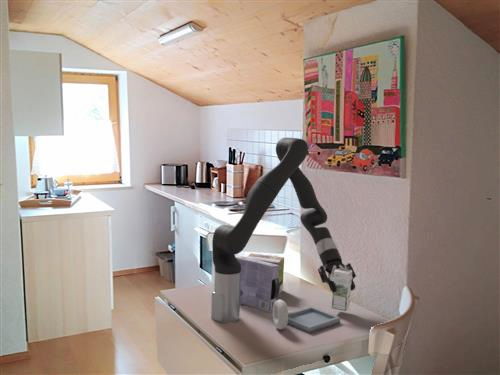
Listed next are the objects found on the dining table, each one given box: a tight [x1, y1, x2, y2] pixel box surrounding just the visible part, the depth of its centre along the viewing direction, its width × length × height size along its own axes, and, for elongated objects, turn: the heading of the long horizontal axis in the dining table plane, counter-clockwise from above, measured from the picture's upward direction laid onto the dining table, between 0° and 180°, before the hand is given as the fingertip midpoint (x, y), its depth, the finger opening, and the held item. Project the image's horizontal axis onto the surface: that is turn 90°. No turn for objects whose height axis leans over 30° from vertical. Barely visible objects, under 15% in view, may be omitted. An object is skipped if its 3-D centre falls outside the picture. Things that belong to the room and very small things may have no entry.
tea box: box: [246, 252, 285, 296], centre depth 214 cm, size 15×10×15 cm, turn 73°
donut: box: [272, 299, 289, 331], centre depth 175 cm, size 10×4×10 cm, turn 13°
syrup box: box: [331, 268, 352, 312], centre depth 191 cm, size 6×6×14 cm
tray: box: [287, 306, 341, 334], centre depth 182 cm, size 16×14×2 cm
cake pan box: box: [235, 255, 280, 313], centre depth 196 cm, size 19×5×18 cm, turn 54°
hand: (344, 290), depth 190 cm, fingers closed on syrup box, 8 cm apart
